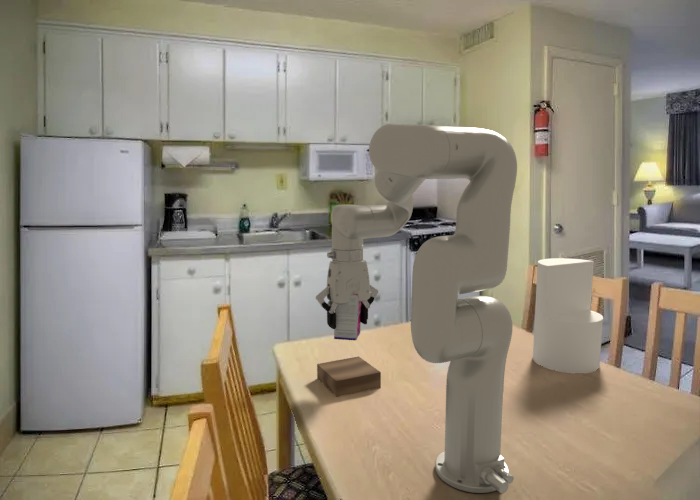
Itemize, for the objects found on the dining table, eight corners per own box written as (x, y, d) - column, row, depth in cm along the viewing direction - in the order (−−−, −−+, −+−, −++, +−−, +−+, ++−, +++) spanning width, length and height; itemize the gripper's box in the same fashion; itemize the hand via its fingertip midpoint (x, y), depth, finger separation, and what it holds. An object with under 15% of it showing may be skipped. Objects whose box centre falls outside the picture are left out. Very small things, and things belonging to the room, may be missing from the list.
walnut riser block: (380, 387, 123) (380, 372, 122) (336, 397, 118) (336, 381, 117) (358, 370, 134) (358, 356, 133) (317, 378, 128) (317, 363, 128)
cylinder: (519, 356, 144) (524, 260, 140) (563, 347, 151) (568, 256, 147) (568, 378, 128) (574, 271, 124) (614, 367, 135) (622, 266, 131)
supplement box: (357, 340, 121) (357, 294, 119) (333, 339, 122) (333, 293, 120) (361, 333, 126) (361, 289, 124) (338, 332, 127) (338, 288, 126)
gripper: (320, 260, 114) (321, 334, 116) (386, 255, 121) (385, 324, 124) (308, 256, 120) (309, 325, 123) (371, 251, 128) (371, 316, 131)
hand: (347, 324), depth 123 cm, fingers closed on supplement box, 7 cm apart
